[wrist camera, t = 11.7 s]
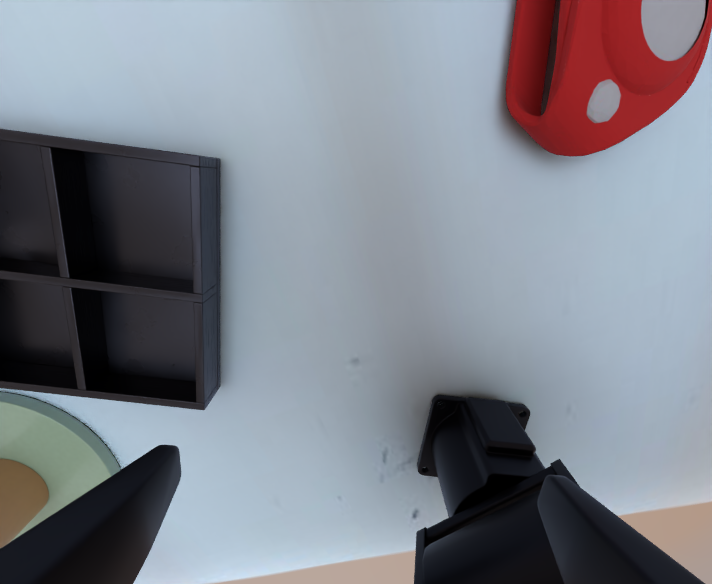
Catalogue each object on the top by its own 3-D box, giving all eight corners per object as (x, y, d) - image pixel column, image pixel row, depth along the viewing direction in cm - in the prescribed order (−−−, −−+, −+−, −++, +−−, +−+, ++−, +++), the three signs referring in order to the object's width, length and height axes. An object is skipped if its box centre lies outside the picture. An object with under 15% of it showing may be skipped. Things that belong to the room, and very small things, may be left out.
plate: (133, 556, 28) (126, 568, 27) (-54, 538, 27) (-68, 550, 27) (116, 404, 23) (107, 412, 22) (-112, 379, 23) (-130, 387, 22)
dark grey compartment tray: (220, 386, 23) (204, 410, 20) (-109, 349, 22) (-165, 370, 20) (220, 158, 18) (199, 155, 16) (-194, 103, 17) (-281, 91, 15)
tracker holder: (778, -15, 15) (656, 189, 15) (660, 34, 19) (567, 194, 19) (641, -340, 10) (469, -33, 10) (525, -180, 14) (404, 36, 14)
